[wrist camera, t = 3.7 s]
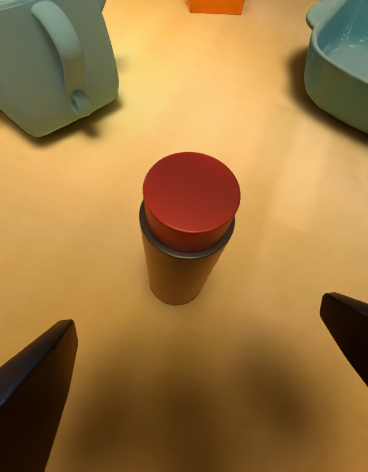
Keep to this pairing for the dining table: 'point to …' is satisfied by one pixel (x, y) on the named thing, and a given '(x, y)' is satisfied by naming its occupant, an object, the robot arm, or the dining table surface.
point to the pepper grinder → (186, 222)
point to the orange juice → (216, 6)
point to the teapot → (54, 62)
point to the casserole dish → (339, 60)
